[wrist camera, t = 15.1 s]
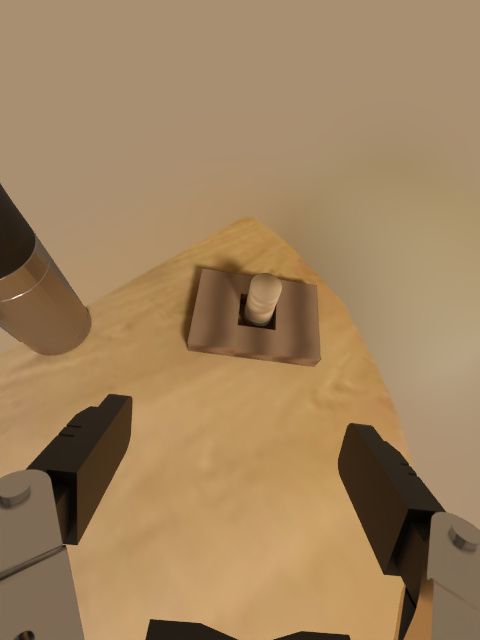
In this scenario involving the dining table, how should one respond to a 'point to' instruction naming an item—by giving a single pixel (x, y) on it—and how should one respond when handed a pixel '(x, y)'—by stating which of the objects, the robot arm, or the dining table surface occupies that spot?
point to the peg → (261, 300)
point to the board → (250, 342)
